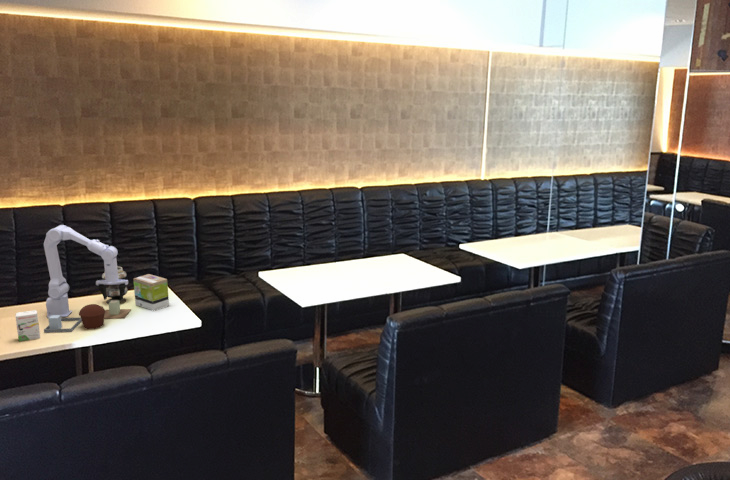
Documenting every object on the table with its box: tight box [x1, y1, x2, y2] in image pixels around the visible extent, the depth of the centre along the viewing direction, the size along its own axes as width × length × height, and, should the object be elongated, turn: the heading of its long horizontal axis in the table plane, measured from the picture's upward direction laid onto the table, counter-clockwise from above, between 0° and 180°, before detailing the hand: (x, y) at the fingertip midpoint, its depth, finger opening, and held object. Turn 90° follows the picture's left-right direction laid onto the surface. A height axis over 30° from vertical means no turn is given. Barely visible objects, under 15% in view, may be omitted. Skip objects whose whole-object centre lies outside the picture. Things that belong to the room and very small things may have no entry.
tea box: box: [132, 273, 170, 312], centre depth 323 cm, size 15×10×15 cm, turn 55°
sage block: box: [108, 300, 121, 315], centre depth 311 cm, size 4×4×6 cm
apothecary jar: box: [101, 265, 129, 305], centre depth 329 cm, size 12×12×18 cm
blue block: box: [47, 315, 63, 329], centre depth 292 cm, size 4×4×6 cm
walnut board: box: [104, 308, 132, 320], centre depth 312 cm, size 12×12×1 cm
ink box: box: [15, 309, 41, 342], centre depth 281 cm, size 8×5×12 cm, turn 119°
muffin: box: [78, 303, 106, 330], centre depth 296 cm, size 12×11×10 cm
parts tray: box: [43, 316, 82, 334], centre depth 296 cm, size 12×15×2 cm
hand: (113, 298), depth 310 cm, fingers open, 7 cm apart
